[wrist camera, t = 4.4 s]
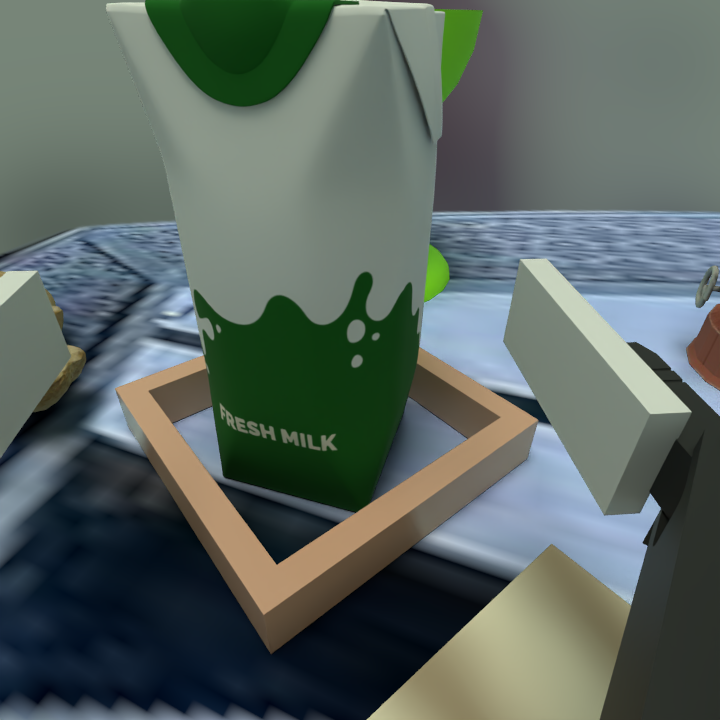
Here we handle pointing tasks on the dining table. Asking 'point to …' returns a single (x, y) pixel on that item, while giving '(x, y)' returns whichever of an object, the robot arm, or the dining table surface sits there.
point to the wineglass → (453, 62)
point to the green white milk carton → (298, 218)
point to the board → (524, 653)
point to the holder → (352, 536)
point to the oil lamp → (69, 370)
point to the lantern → (707, 334)
